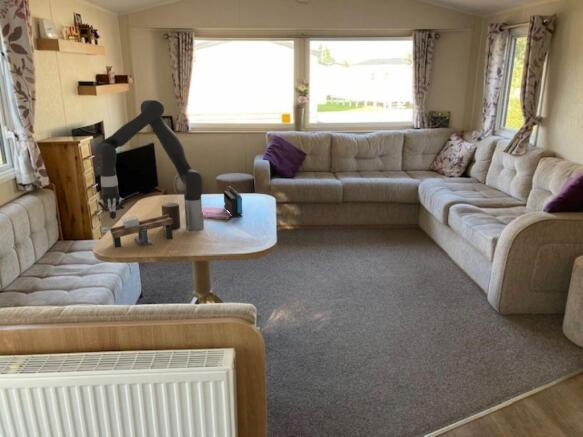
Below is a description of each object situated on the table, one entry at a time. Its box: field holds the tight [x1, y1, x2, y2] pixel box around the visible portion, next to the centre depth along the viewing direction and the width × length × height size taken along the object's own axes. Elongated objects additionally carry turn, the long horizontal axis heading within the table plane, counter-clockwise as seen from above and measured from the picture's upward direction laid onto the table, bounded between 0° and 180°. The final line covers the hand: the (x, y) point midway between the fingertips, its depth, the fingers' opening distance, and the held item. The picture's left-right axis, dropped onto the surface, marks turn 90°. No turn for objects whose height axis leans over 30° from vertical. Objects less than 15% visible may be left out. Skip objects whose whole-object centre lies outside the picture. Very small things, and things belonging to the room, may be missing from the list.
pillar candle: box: [161, 202, 181, 231], centre depth 263 cm, size 10×10×15 cm
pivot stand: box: [111, 224, 174, 249], centre depth 242 cm, size 29×14×10 cm, turn 118°
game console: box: [223, 185, 243, 218], centre depth 293 cm, size 28×6×15 cm, turn 21°
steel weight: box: [122, 215, 140, 229], centre depth 238 cm, size 7×5×5 cm
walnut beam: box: [109, 214, 173, 239], centre depth 241 cm, size 30×9×3 cm, turn 118°
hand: (113, 218), depth 233 cm, fingers closed
